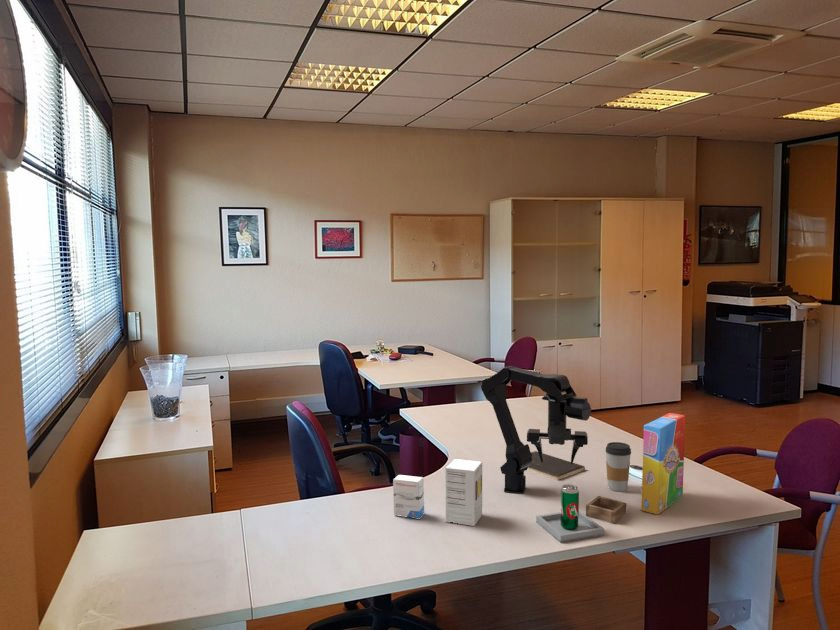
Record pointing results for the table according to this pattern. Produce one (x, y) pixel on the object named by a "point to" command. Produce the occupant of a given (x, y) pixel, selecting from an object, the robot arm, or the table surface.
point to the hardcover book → (553, 466)
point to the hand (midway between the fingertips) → (556, 462)
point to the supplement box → (463, 491)
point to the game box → (663, 462)
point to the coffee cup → (618, 465)
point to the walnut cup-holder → (606, 509)
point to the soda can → (569, 506)
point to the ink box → (408, 496)
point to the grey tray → (583, 531)
